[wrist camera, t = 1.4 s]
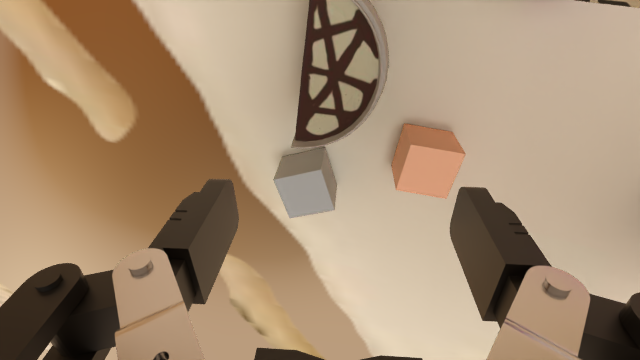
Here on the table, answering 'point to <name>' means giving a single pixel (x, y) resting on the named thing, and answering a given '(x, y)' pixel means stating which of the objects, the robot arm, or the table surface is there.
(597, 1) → the candy bar box
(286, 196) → the slate grey block
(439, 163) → the terracotta block
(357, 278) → the table surface
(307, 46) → the food container
